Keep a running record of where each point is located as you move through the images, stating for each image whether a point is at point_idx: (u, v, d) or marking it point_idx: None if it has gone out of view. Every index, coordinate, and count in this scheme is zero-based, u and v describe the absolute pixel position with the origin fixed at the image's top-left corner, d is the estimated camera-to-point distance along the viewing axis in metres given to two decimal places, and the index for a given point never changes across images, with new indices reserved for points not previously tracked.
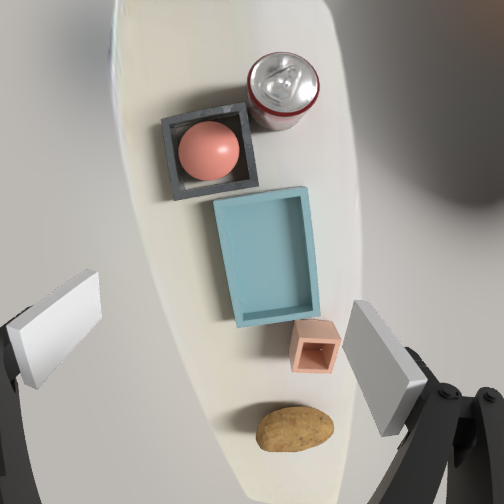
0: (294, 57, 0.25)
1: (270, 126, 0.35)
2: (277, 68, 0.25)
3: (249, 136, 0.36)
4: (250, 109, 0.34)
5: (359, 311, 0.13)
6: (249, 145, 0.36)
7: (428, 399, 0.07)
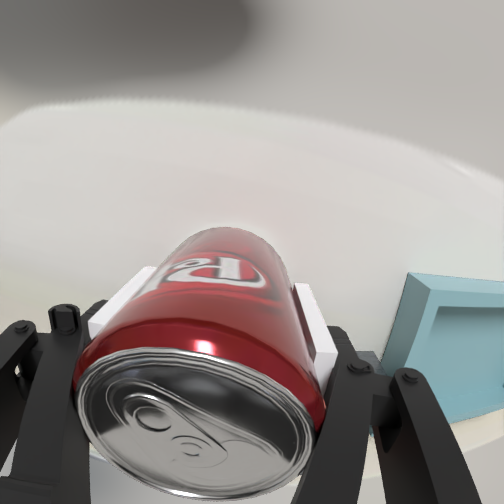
0: (87, 387, 0.06)
1: None
2: (136, 443, 0.07)
3: None
4: None
5: (296, 292, 0.15)
6: None
7: (337, 376, 0.08)
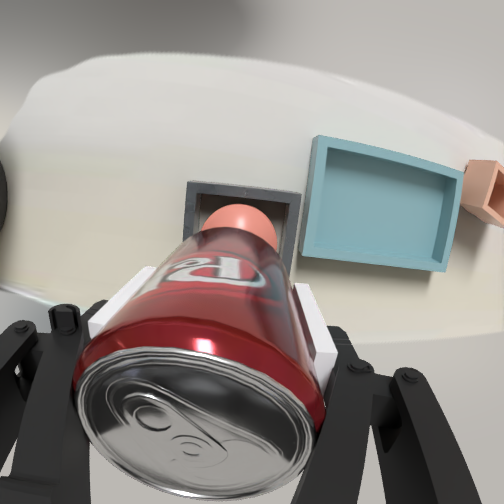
0: (87, 386, 0.06)
1: None
2: (136, 442, 0.07)
3: (234, 188, 0.28)
4: None
5: (295, 292, 0.15)
6: (246, 190, 0.28)
7: (337, 376, 0.08)
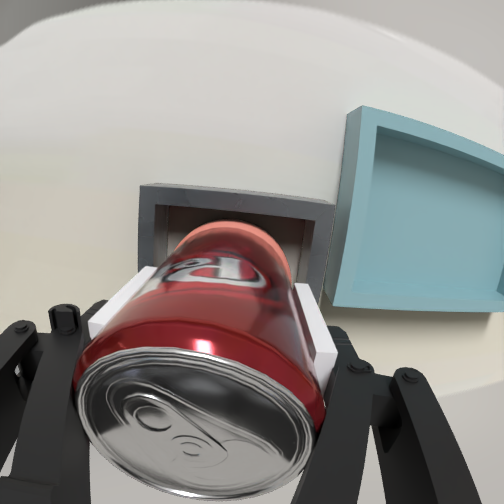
0: (87, 386, 0.06)
1: None
2: (136, 442, 0.07)
3: (218, 194, 0.16)
4: None
5: (296, 292, 0.15)
6: (240, 199, 0.16)
7: (337, 376, 0.08)
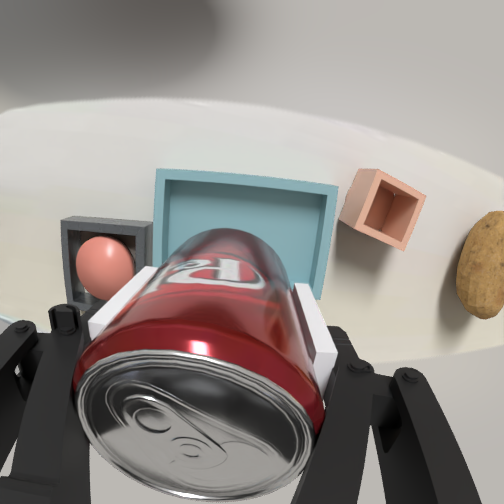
0: (87, 388, 0.06)
1: None
2: (136, 444, 0.07)
3: (92, 224, 0.30)
4: None
5: (296, 292, 0.15)
6: (101, 226, 0.30)
7: (337, 376, 0.08)
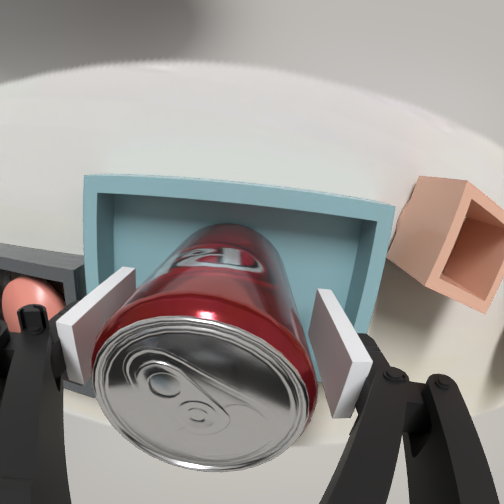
0: (106, 357, 0.07)
1: None
2: (148, 411, 0.08)
3: (10, 260, 0.17)
4: None
5: (320, 298, 0.14)
6: (20, 264, 0.17)
7: (373, 383, 0.08)
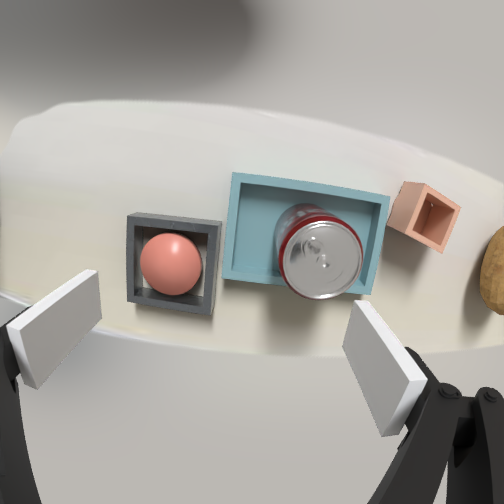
0: (294, 239, 0.24)
1: None
2: (304, 263, 0.24)
3: (162, 221, 0.33)
4: None
5: (359, 311, 0.13)
6: (172, 223, 0.33)
7: (428, 399, 0.07)
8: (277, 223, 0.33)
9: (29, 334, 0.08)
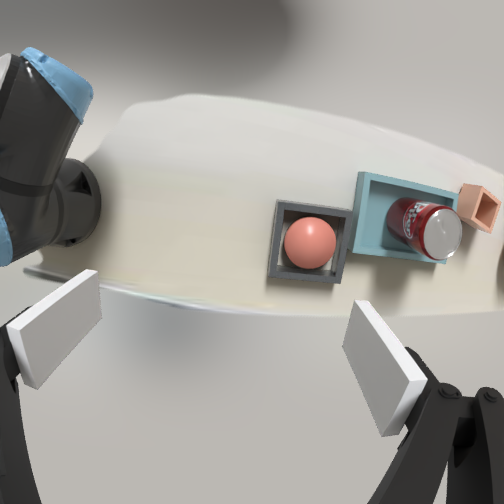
0: (430, 219, 0.32)
1: None
2: (434, 235, 0.33)
3: (310, 206, 0.42)
4: None
5: (359, 311, 0.13)
6: (318, 209, 0.42)
7: (428, 399, 0.07)
8: (392, 211, 0.42)
9: (29, 334, 0.08)
